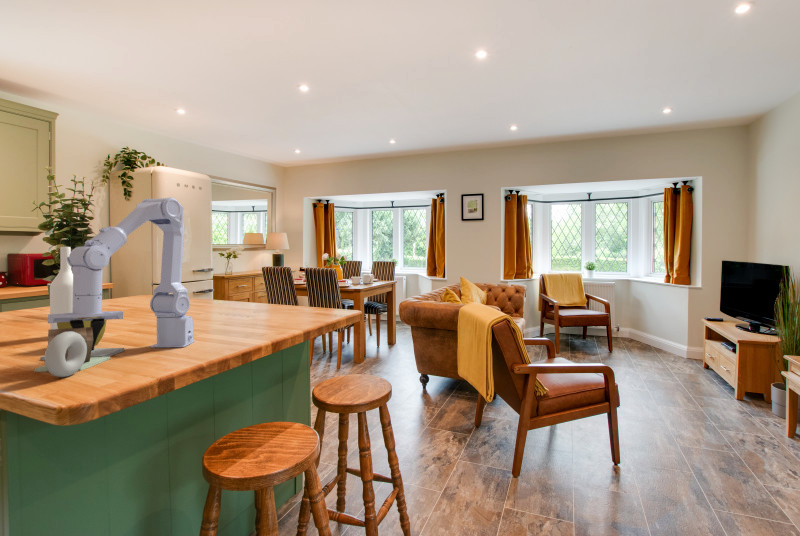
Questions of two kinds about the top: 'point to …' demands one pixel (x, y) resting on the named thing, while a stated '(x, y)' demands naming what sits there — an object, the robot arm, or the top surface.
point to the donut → (57, 354)
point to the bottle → (62, 288)
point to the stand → (101, 352)
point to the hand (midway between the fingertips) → (86, 350)
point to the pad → (85, 365)
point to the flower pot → (86, 324)
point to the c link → (84, 332)
